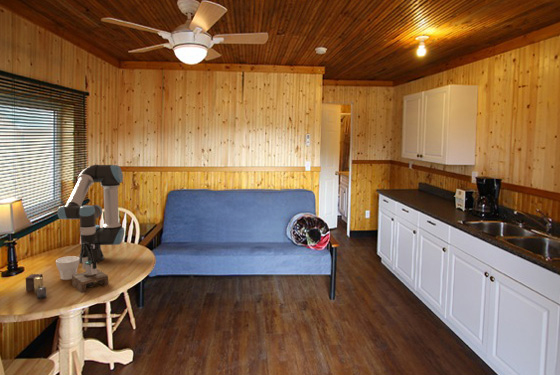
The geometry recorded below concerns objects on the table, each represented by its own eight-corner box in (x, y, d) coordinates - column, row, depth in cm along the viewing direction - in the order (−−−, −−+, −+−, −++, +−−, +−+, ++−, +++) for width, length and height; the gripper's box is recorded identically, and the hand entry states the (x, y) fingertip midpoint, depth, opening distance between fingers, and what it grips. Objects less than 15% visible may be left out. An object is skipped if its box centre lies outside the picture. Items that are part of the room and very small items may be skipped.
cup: (63, 282, 217) (62, 264, 216) (52, 278, 224) (51, 260, 222) (84, 276, 228) (84, 258, 226) (73, 271, 234) (72, 254, 233)
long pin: (85, 285, 215) (84, 261, 213) (92, 283, 218) (91, 259, 216) (88, 287, 212) (87, 263, 210) (95, 285, 215) (94, 261, 213)
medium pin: (33, 292, 204) (32, 278, 203) (42, 290, 207) (41, 276, 206) (36, 294, 201) (35, 280, 200) (44, 292, 204) (43, 278, 203)
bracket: (72, 285, 214) (71, 275, 214) (97, 278, 225) (97, 269, 224) (82, 292, 205) (81, 282, 204) (108, 285, 216) (107, 275, 215)
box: (32, 286, 211) (31, 273, 210) (43, 286, 212) (42, 273, 211) (25, 291, 205) (25, 278, 204) (37, 291, 206) (36, 278, 205)
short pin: (36, 297, 198) (35, 288, 197) (44, 295, 201) (44, 286, 200) (38, 299, 195) (38, 290, 194) (47, 297, 198) (46, 288, 197)
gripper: (72, 230, 216) (74, 267, 219) (90, 239, 200) (91, 278, 203) (86, 228, 221) (88, 264, 224) (104, 236, 206) (105, 275, 209)
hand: (89, 271), depth 214 cm, fingers open, 11 cm apart
